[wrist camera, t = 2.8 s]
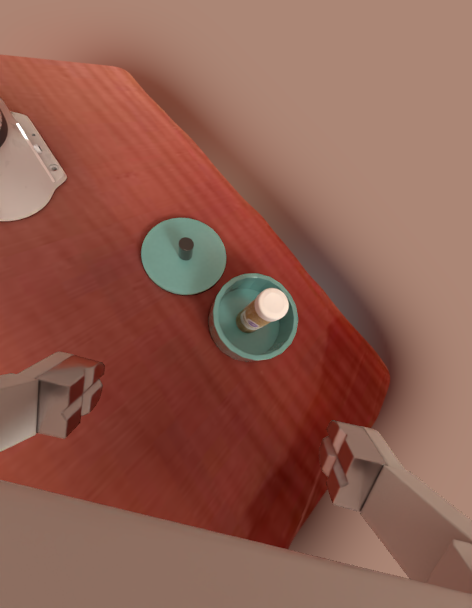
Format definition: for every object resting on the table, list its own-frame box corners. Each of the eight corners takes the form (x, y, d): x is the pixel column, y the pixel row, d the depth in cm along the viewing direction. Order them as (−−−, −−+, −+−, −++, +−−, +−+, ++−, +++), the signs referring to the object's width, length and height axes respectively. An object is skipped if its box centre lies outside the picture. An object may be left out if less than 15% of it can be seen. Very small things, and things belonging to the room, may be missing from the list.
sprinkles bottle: (232, 329, 45) (254, 312, 32) (239, 306, 46) (262, 282, 34) (255, 336, 45) (286, 323, 33) (261, 314, 47) (292, 293, 34)
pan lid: (129, 232, 45) (124, 215, 40) (207, 213, 50) (210, 196, 45) (159, 308, 43) (157, 300, 38) (237, 280, 48) (244, 270, 43)
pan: (196, 300, 45) (199, 289, 39) (263, 275, 49) (275, 262, 44) (227, 375, 43) (236, 375, 37) (294, 342, 47) (311, 338, 41)
